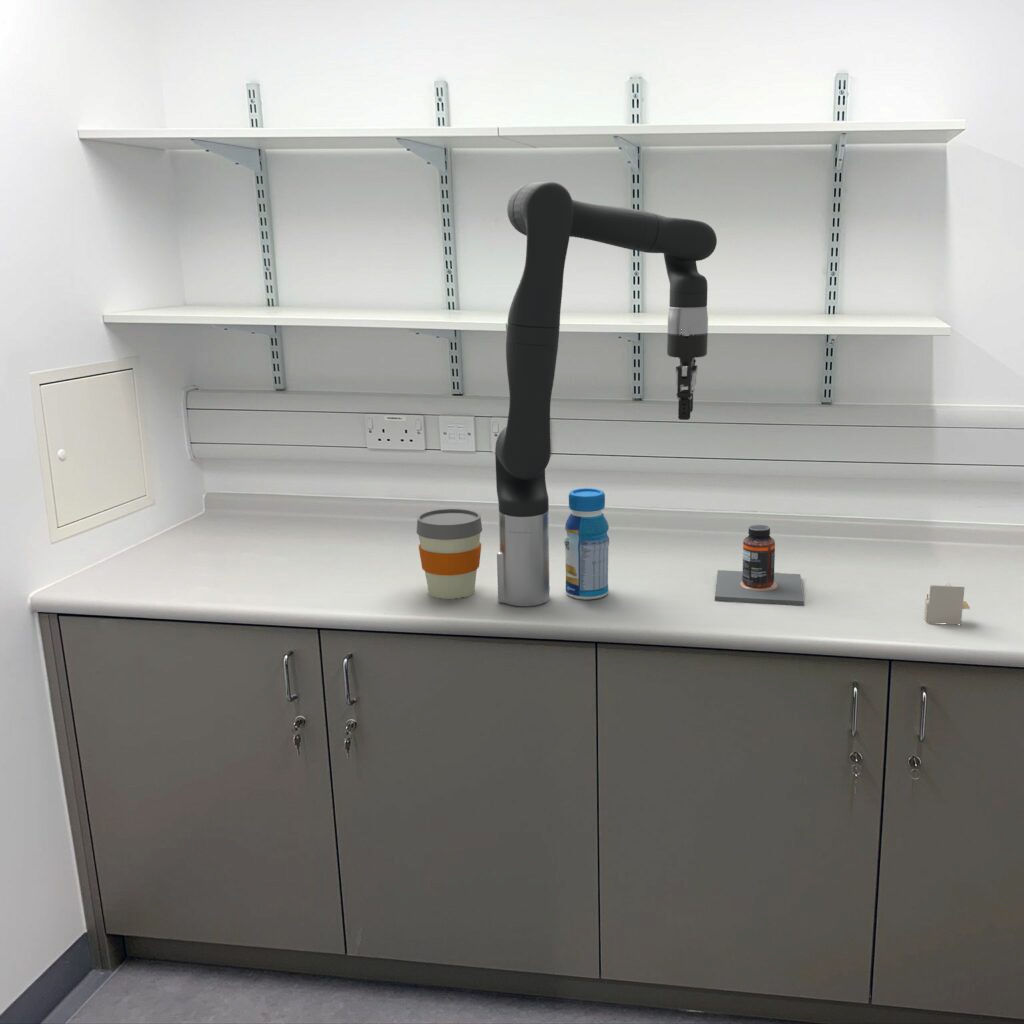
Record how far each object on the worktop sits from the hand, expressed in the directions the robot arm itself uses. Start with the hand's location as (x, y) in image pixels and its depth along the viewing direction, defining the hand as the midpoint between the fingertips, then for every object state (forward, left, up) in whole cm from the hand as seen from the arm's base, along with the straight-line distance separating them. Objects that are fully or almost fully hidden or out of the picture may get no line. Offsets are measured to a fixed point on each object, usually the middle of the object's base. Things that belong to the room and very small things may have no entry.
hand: (685, 415), depth 203 cm
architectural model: (+46, -20, -33) cm, 60 cm away
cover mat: (+15, -7, -32) cm, 36 cm away
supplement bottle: (+15, -7, -31) cm, 35 cm away
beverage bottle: (-17, -15, -32) cm, 39 cm away
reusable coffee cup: (-43, -18, -32) cm, 57 cm away
